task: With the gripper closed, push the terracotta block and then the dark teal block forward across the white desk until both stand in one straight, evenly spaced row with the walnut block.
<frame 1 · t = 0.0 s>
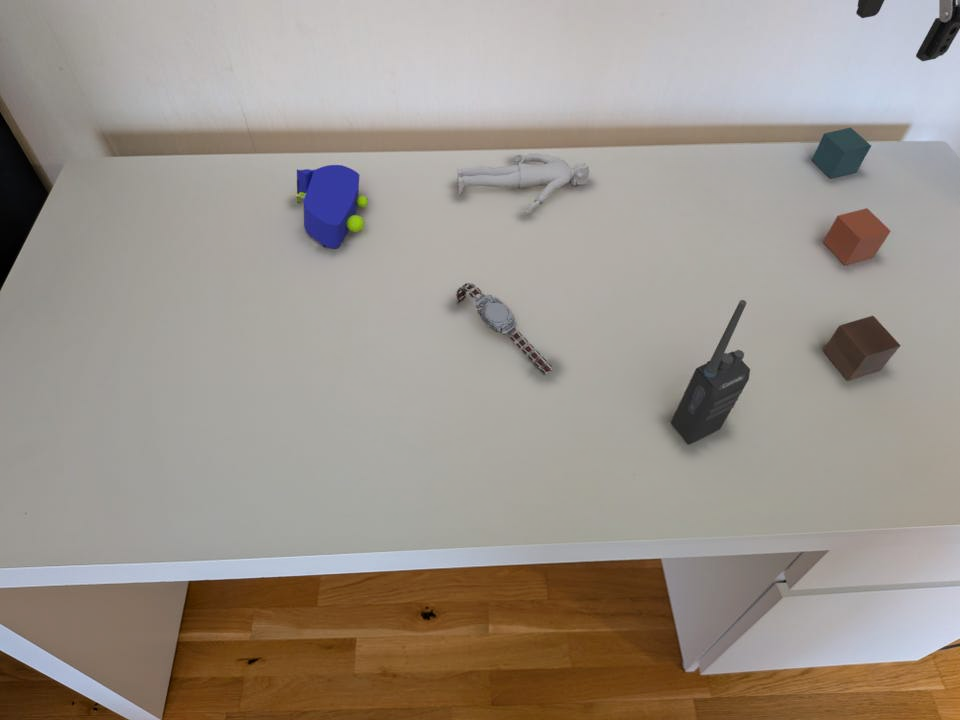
hand: (894, 36, 65), 28 cm above the table, tool pointing down, fingers open, 8 cm apart
wristwatch: (501, 337, 78), on the table
walkie-talkie: (695, 427, 71), on the table
figurine: (522, 188, 94), on the table
toy: (335, 220, 90), on the table
terracotta block: (847, 249, 87), on the table
teal block: (833, 166, 97), on the table
walnut block: (851, 360, 76), on the table
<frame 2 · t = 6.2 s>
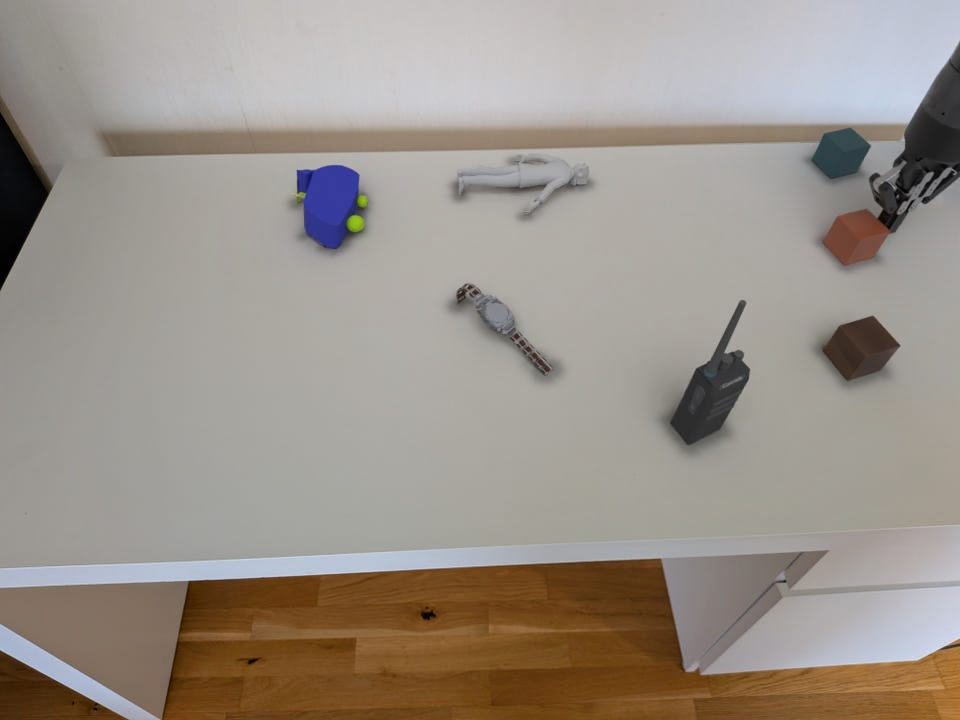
hand: (883, 230, 86), 2 cm above the table, tool pointing down, fingers closed
terracotta block: (847, 250, 87), on the table, touching gripper
everything else where it was.
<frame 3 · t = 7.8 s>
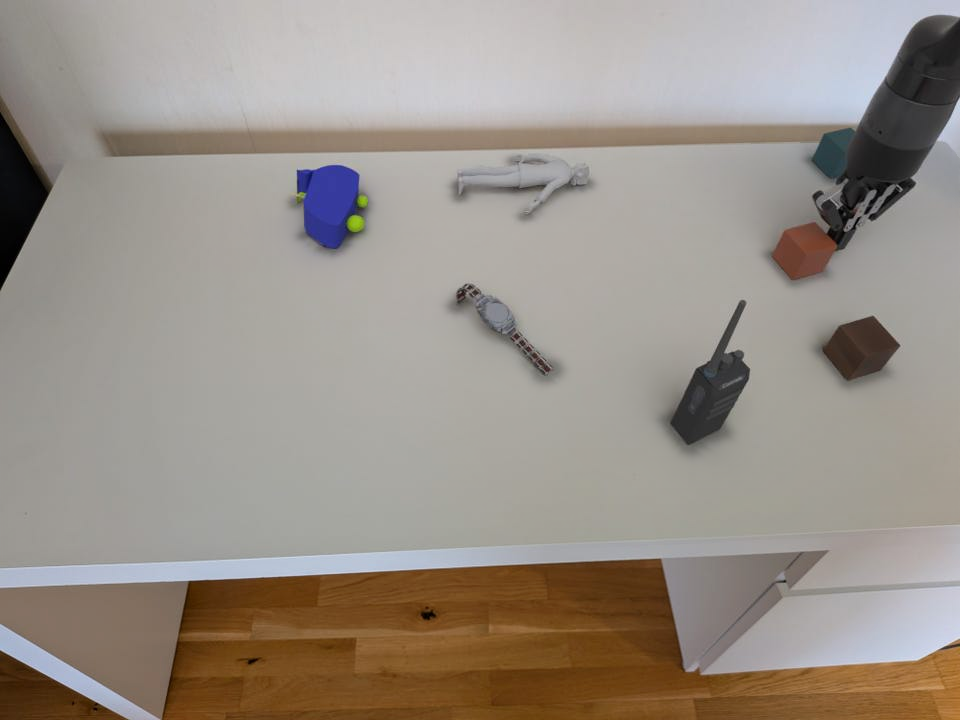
hand: (833, 246, 85), 2 cm above the table, tool pointing down, fingers closed
terracotta block: (796, 264, 85), on the table, touching gripper
everything else where it was.
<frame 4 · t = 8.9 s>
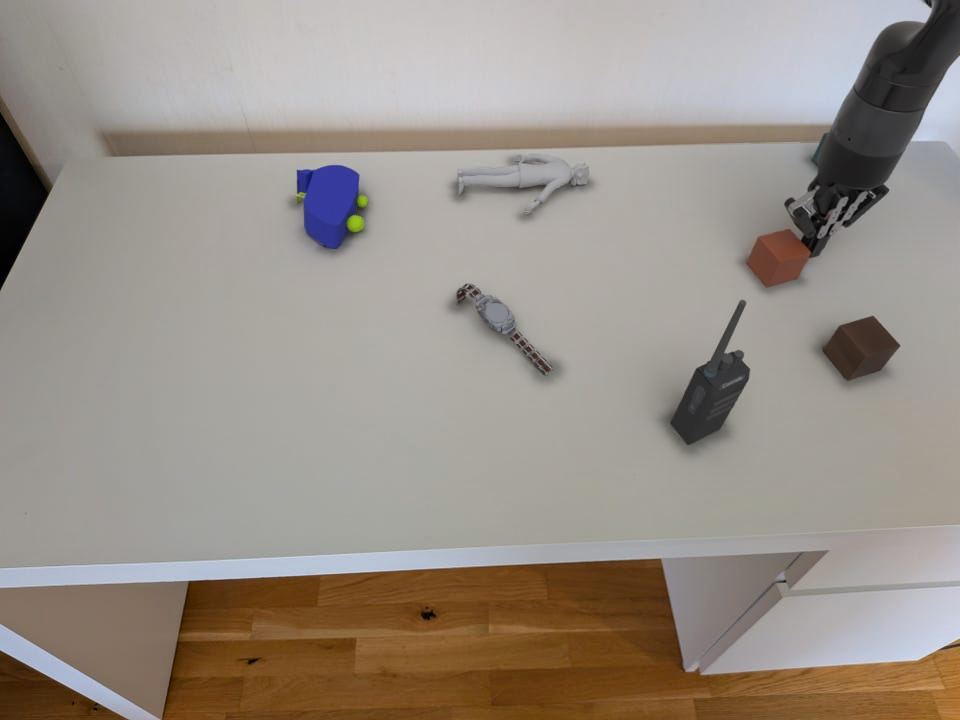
hand: (808, 253, 84), 2 cm above the table, tool pointing down, fingers closed
terracotta block: (771, 270, 85), on the table, touching gripper
everything else where it was.
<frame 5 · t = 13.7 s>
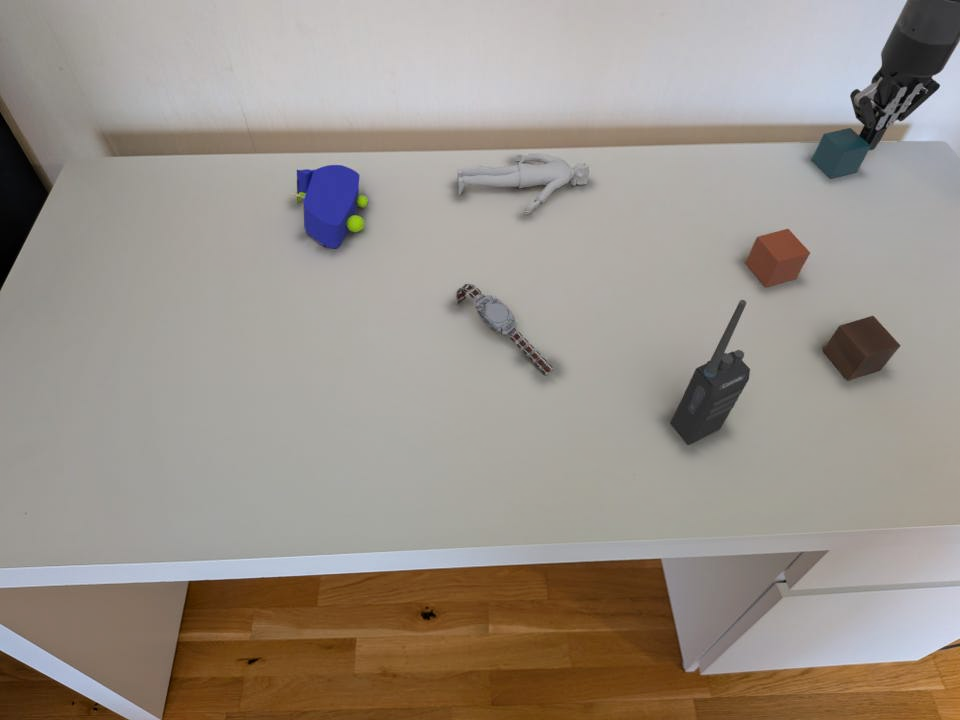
hand: (864, 147, 96), 2 cm above the table, tool pointing down, fingers closed
terracotta block: (770, 271, 85), on the table
teal block: (833, 166, 97), on the table, touching gripper
everything else where it was.
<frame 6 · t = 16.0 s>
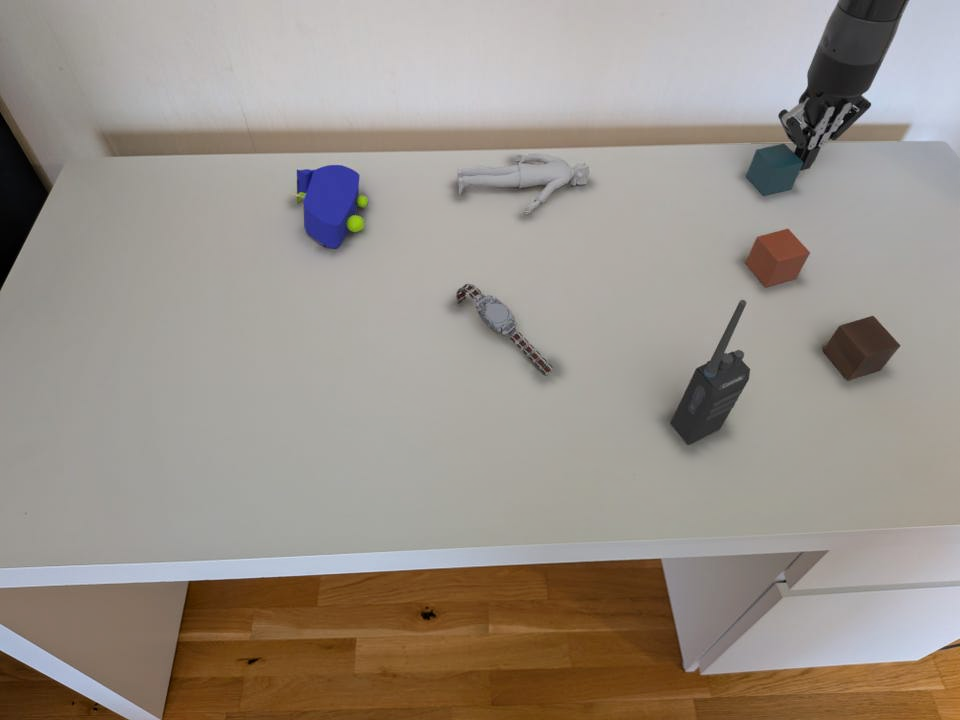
hand: (800, 166, 95), 2 cm above the table, tool pointing down, fingers closed
teal block: (768, 183, 95), on the table, touching gripper
everything else where it was.
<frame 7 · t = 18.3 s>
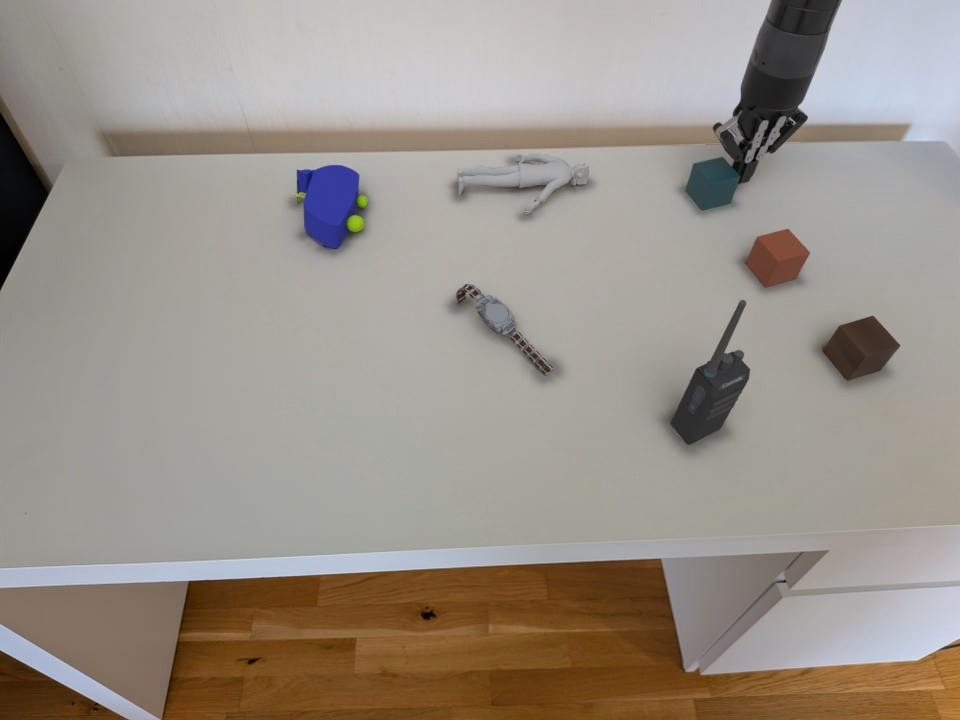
hand: (739, 179, 93), 2 cm above the table, tool pointing down, fingers closed
teal block: (707, 196, 93), on the table, touching gripper
everything else where it was.
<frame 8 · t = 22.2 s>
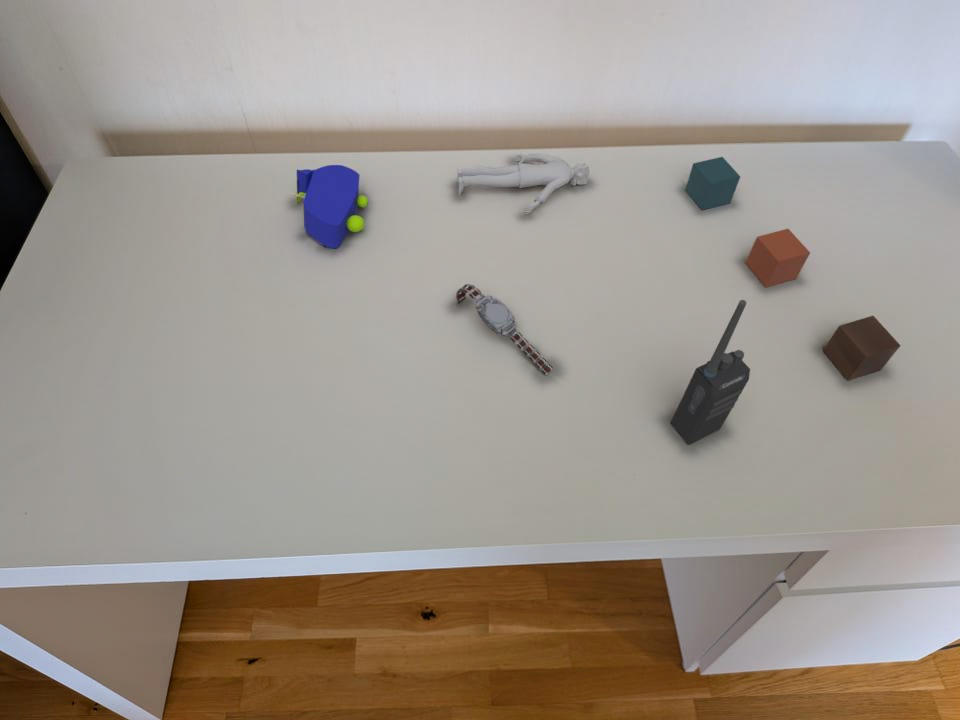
teal block: (707, 196, 93), on the table
everything else where it was.
at the end: terracotta block 0.6 cm from the target spot on the table beside the walnut block, on the table; teal block 0.7 cm from the target spot on the table beside the walnut block, on the table; walnut block moved 0.0 cm from its start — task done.
